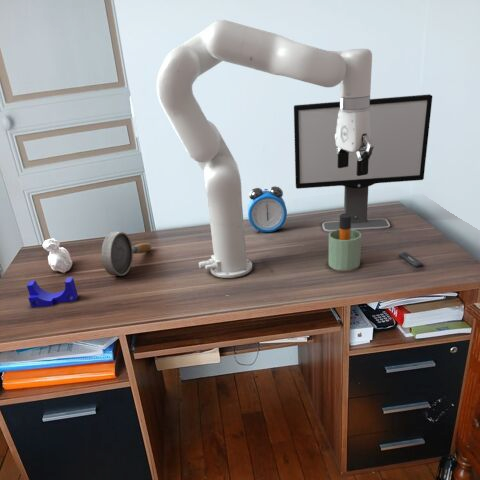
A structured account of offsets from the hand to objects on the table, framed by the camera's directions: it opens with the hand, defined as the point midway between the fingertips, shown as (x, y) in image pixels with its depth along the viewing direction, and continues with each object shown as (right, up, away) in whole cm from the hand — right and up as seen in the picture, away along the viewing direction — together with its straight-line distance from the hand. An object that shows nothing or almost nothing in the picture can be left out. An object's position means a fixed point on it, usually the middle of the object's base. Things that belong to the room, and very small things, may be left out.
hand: (352, 171), depth 138 cm
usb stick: (+18, -24, +7) cm, 31 cm away
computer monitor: (+9, -8, +35) cm, 38 cm away
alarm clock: (-21, -9, +38) cm, 45 cm away
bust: (-88, -24, +24) cm, 94 cm away
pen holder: (0, -25, +9) cm, 26 cm away
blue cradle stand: (-83, -36, +4) cm, 90 cm away
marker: (0, -24, +9) cm, 26 cm away
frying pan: (-65, -24, +22) cm, 72 cm away
